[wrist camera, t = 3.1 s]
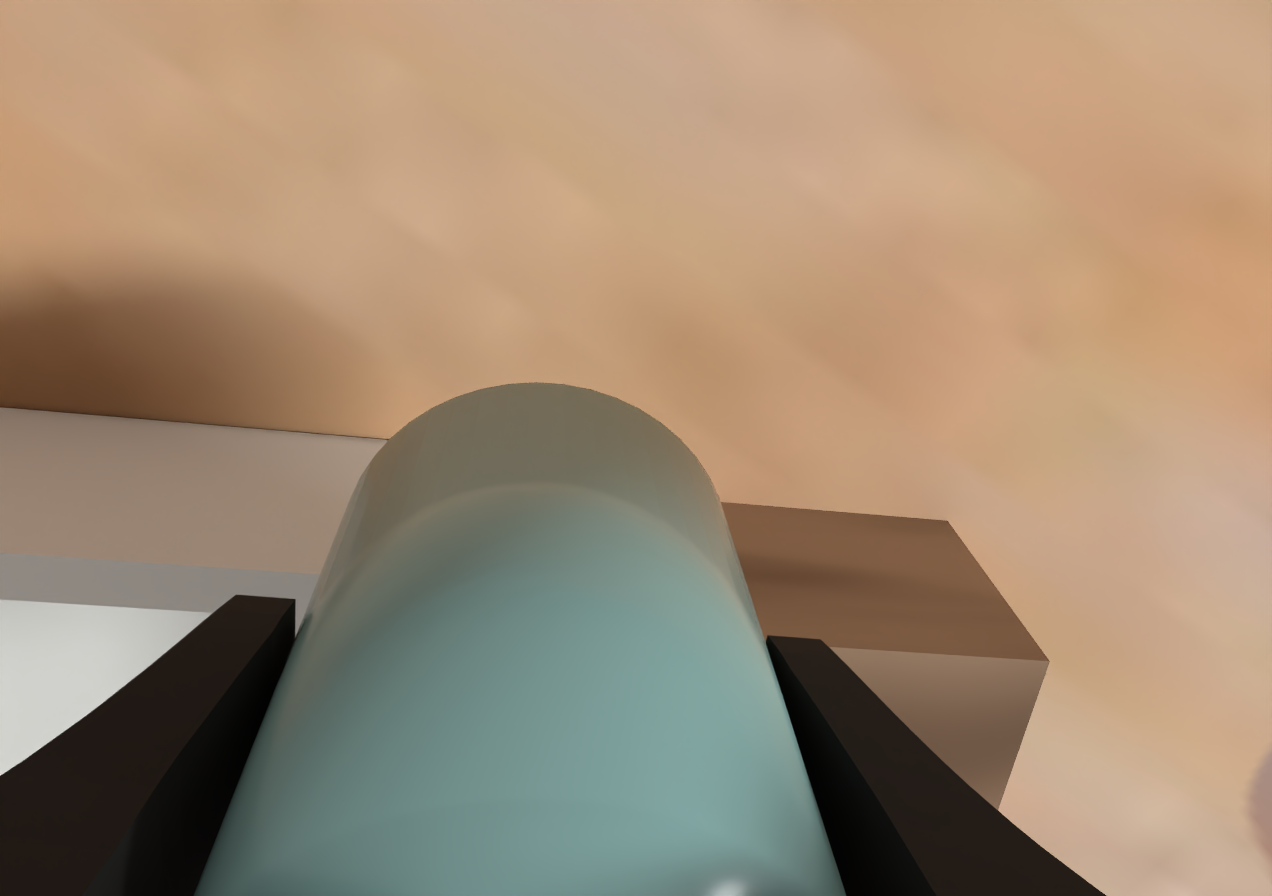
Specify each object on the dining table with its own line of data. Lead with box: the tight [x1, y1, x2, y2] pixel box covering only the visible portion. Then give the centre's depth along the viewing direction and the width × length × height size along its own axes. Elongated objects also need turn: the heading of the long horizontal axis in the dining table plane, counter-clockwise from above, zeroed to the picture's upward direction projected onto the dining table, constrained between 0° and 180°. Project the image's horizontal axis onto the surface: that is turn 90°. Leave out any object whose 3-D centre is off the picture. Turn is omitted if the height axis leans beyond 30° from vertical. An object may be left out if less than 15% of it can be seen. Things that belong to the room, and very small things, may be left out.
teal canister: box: [194, 382, 846, 896], centre depth 10 cm, size 5×5×7 cm
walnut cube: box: [721, 502, 1050, 810], centre depth 20 cm, size 5×5×5 cm
